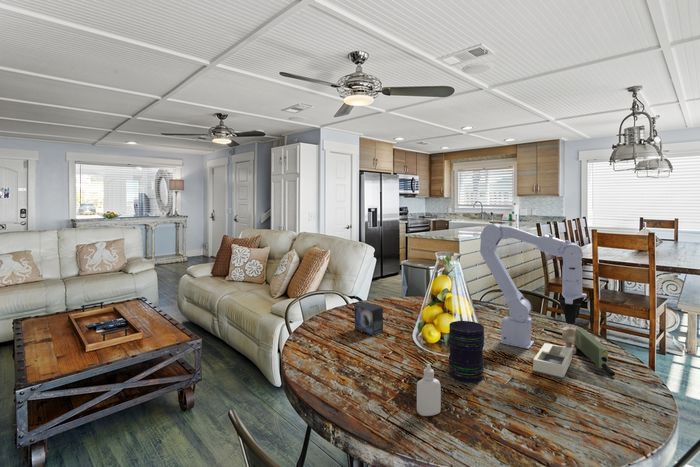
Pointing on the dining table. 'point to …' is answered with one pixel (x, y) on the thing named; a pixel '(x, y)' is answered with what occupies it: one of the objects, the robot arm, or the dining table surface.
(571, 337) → the keyhole peg
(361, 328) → the small box
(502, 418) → the dining table surface
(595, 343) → the handheld radio
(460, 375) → the storage jar
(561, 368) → the white hollow rectangular frame
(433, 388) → the eye dropper bottle
